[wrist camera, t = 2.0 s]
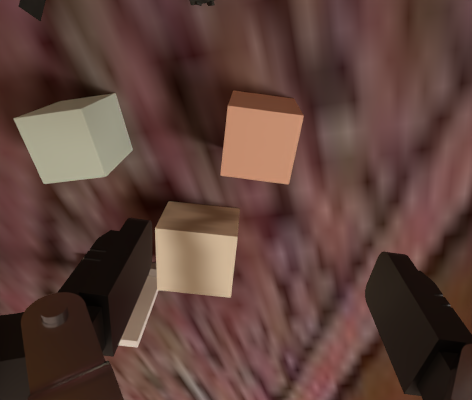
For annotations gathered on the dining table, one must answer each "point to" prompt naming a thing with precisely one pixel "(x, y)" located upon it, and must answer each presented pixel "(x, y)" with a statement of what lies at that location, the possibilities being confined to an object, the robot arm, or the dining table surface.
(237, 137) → the terracotta block
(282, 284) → the dining table surface
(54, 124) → the sage block
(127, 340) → the board
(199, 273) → the beech base block
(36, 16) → the helicopter
